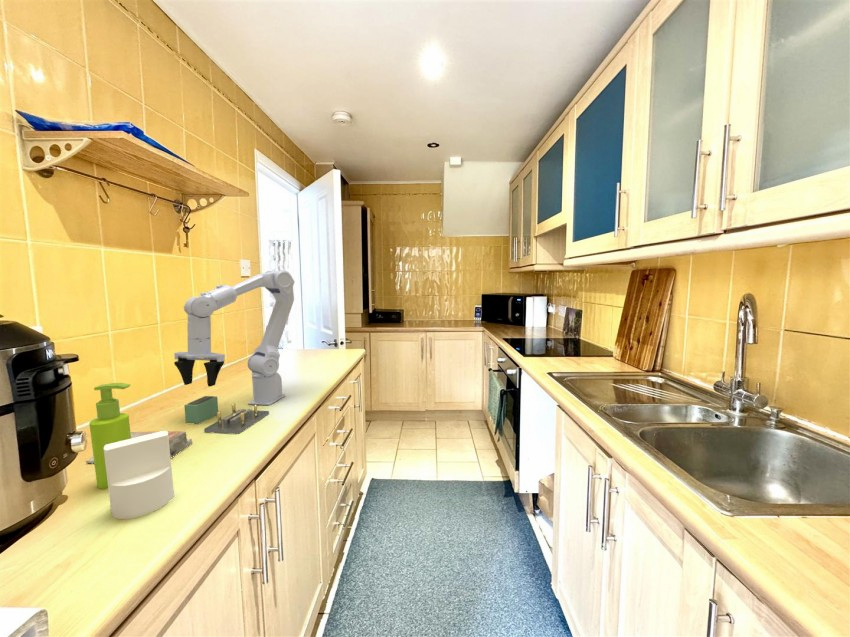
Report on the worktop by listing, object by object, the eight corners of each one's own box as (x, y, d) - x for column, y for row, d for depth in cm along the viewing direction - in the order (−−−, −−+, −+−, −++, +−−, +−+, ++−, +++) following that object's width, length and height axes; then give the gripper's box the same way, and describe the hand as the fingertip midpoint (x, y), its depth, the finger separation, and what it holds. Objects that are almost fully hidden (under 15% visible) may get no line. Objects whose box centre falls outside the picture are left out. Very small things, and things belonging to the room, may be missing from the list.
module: (206, 413, 110) (205, 395, 109) (218, 413, 109) (217, 395, 108) (186, 423, 102) (184, 404, 101) (198, 424, 101) (196, 404, 101)
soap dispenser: (129, 486, 71) (117, 387, 68) (89, 490, 69) (76, 390, 67) (147, 470, 76) (137, 379, 74) (110, 474, 75) (99, 381, 73)
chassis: (238, 412, 109) (237, 399, 109) (269, 414, 108) (268, 400, 107) (204, 432, 95) (203, 417, 95) (238, 434, 94) (237, 418, 94)
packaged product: (192, 425, 89) (163, 444, 79) (194, 444, 89) (165, 465, 80) (120, 427, 89) (82, 445, 79) (123, 445, 90) (85, 466, 80)
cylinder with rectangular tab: (170, 483, 72) (164, 425, 70) (178, 503, 65) (171, 439, 64) (110, 502, 65) (103, 439, 64) (112, 526, 59) (104, 457, 58)
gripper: (165, 338, 100) (165, 386, 101) (212, 340, 98) (212, 389, 99) (185, 336, 107) (185, 381, 108) (229, 338, 105) (229, 383, 106)
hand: (199, 384), depth 104 cm, fingers open, 7 cm apart
